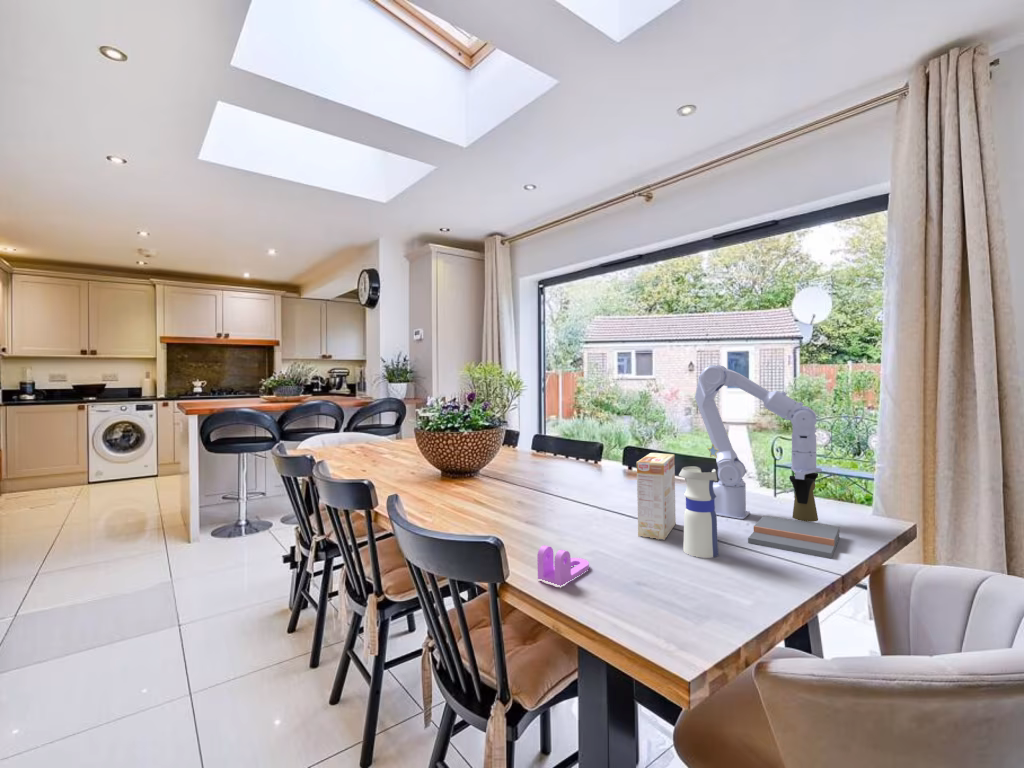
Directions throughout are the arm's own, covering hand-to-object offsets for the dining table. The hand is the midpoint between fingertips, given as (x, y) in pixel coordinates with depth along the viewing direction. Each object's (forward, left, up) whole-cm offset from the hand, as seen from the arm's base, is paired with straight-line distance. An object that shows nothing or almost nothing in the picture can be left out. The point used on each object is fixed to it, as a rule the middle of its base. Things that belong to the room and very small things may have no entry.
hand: (804, 501), depth 130 cm
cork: (0, 0, -5) cm, 5 cm away
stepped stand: (0, -16, -6) cm, 17 cm away
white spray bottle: (-16, -37, -6) cm, 41 cm away
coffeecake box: (-30, -28, -7) cm, 41 cm away
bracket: (-34, -66, -7) cm, 75 cm away
